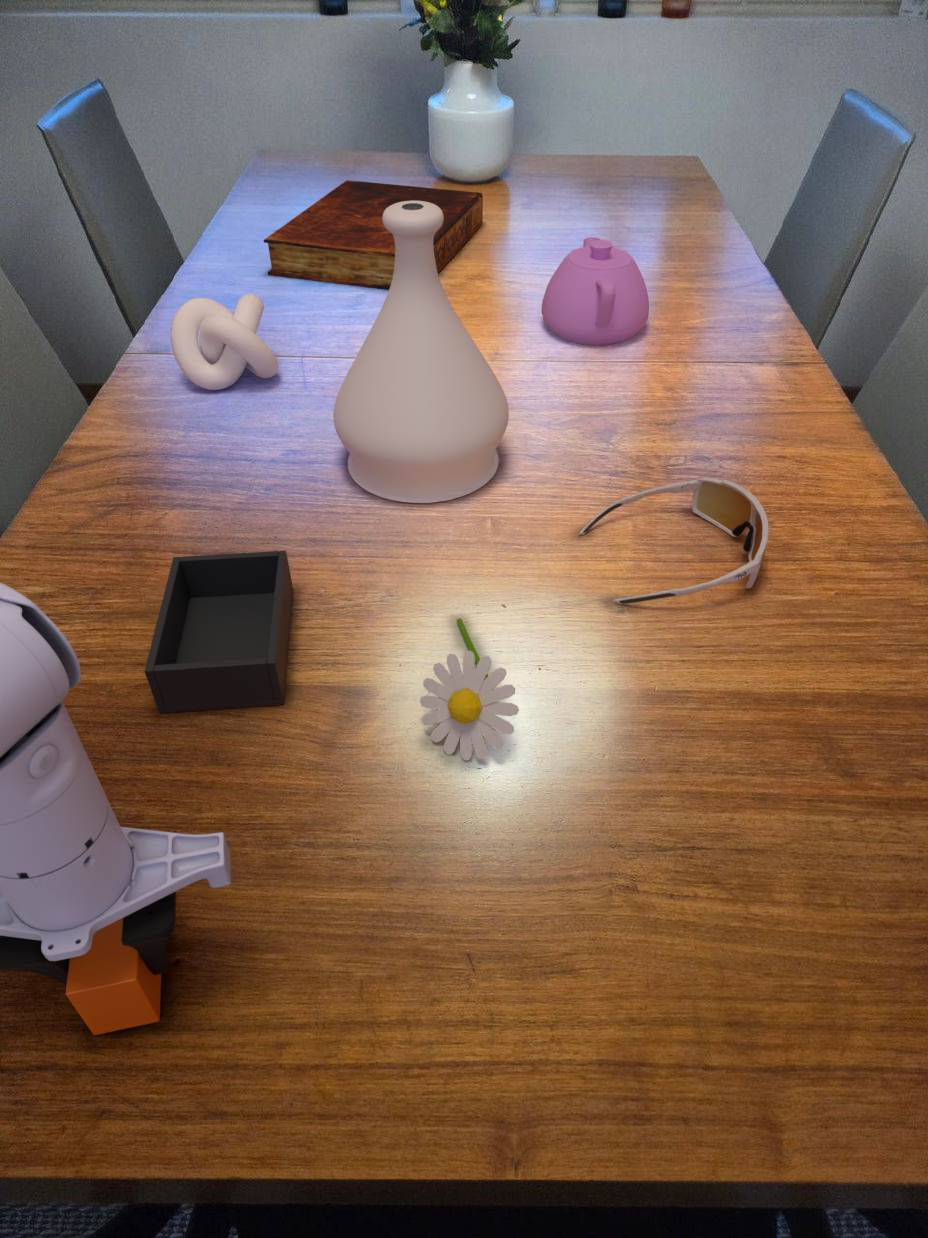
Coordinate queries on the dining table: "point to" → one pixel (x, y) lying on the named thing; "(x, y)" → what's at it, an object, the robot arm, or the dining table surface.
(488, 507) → the dining table surface
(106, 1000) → the block
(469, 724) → the decorative flower
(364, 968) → the dining table surface
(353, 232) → the book
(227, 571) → the open box
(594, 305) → the teapot
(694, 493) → the sunglasses
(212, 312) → the beige knot sculpture
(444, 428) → the vase
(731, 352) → the dining table surface
